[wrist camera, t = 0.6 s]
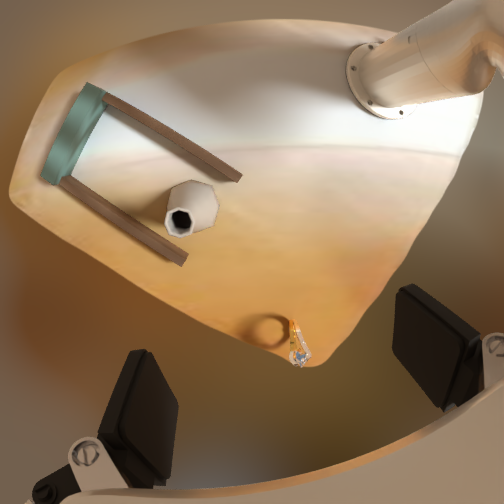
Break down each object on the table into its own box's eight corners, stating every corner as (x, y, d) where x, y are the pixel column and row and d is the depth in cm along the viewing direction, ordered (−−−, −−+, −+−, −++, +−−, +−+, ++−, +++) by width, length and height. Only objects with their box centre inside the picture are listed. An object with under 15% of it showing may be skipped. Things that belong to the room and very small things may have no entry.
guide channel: (99, 88, 29) (86, 82, 26) (242, 174, 35) (243, 175, 31) (55, 173, 33) (40, 175, 29) (184, 260, 39) (179, 271, 35)
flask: (220, 231, 38) (217, 256, 28) (169, 233, 37) (149, 258, 28) (219, 178, 35) (213, 184, 26) (165, 181, 35) (142, 189, 25)
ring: (300, 343, 45) (311, 375, 37) (282, 346, 45) (290, 378, 37) (300, 309, 42) (313, 338, 35) (280, 311, 42) (289, 342, 35)
